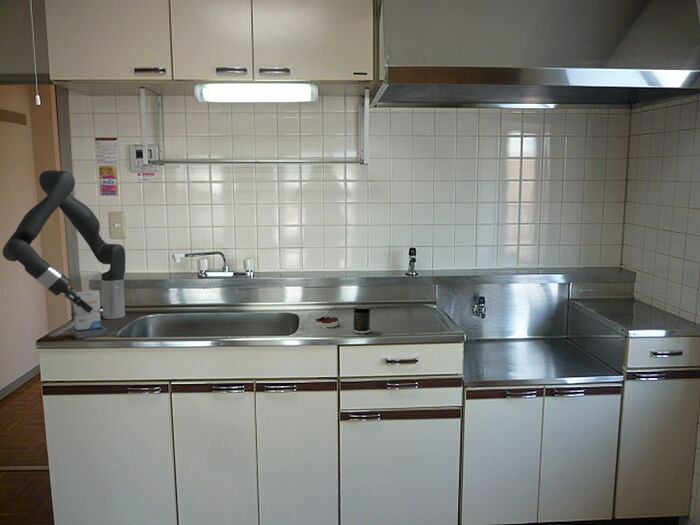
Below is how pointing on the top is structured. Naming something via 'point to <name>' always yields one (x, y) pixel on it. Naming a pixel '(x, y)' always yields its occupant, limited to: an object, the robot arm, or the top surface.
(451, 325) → the top surface
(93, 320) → the ink box
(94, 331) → the tray
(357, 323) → the supplement container
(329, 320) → the canned food
